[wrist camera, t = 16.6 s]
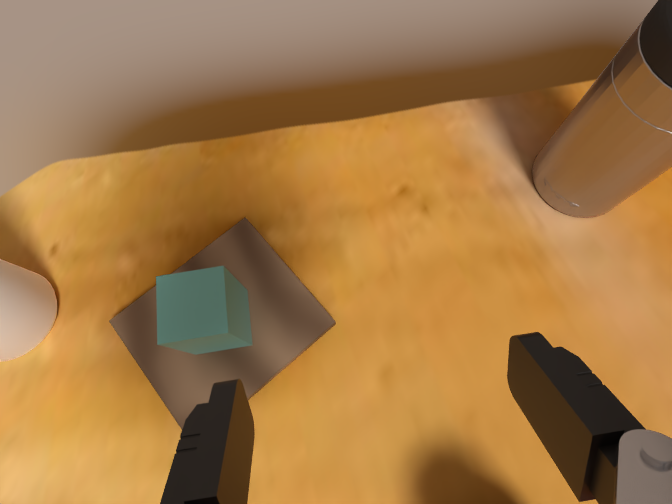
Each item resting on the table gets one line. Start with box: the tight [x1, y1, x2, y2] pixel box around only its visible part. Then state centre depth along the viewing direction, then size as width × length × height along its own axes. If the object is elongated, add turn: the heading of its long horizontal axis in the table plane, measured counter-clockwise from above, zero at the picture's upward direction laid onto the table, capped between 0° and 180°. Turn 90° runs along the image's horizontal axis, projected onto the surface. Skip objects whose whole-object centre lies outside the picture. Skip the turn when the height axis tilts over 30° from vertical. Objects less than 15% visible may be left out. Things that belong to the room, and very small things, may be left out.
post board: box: [109, 218, 336, 430], centre depth 37 cm, size 16×14×7 cm
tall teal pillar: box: [156, 266, 252, 355], centre depth 35 cm, size 5×5×8 cm
